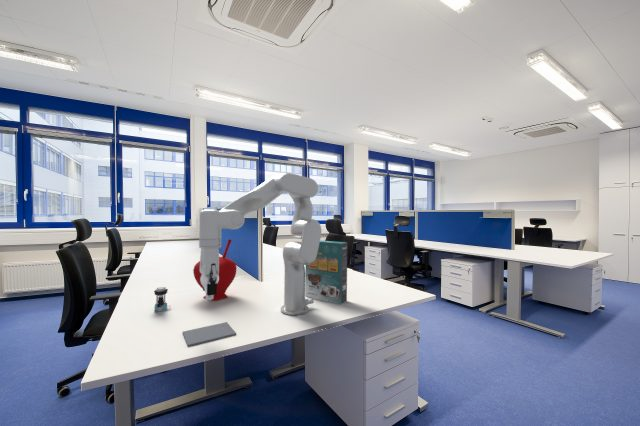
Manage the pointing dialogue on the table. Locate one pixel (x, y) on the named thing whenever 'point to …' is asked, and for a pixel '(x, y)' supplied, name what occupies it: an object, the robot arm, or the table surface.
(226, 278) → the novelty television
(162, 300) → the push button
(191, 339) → the desk mat
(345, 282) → the cake mix box
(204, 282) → the lightbulb
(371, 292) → the table surface
